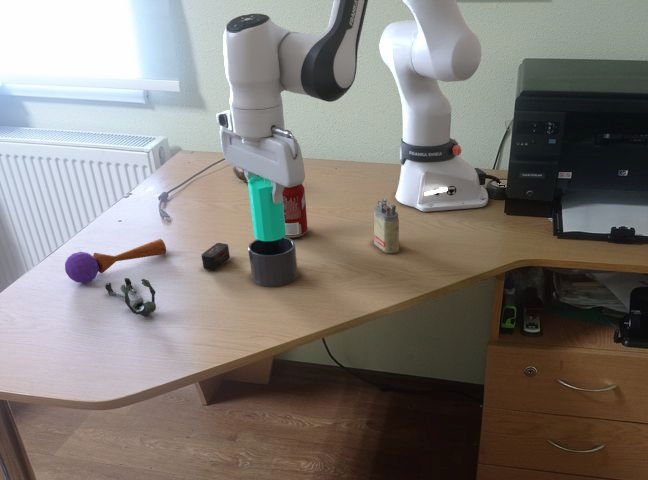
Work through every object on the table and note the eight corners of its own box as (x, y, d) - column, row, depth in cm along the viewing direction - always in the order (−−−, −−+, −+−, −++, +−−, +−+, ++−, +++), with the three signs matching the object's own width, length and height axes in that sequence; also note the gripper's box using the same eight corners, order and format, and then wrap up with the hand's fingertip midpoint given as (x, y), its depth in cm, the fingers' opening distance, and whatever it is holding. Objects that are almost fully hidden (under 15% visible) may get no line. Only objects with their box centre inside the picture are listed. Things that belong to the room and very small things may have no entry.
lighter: (371, 242, 144) (370, 198, 138) (386, 238, 145) (386, 194, 140) (387, 255, 139) (387, 209, 133) (403, 251, 140) (403, 206, 134)
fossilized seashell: (230, 164, 180) (229, 183, 173) (240, 143, 177) (240, 162, 169) (256, 175, 184) (256, 194, 176) (266, 156, 180) (267, 174, 173)
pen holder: (300, 265, 135) (297, 235, 132) (294, 286, 128) (291, 256, 124) (256, 265, 136) (252, 236, 132) (248, 286, 128) (244, 256, 125)
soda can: (302, 240, 145) (298, 187, 138) (273, 238, 146) (267, 185, 139) (311, 228, 150) (307, 176, 144) (282, 226, 152) (277, 174, 145)
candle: (247, 235, 127) (239, 173, 120) (272, 225, 130) (265, 165, 124) (268, 244, 123) (261, 181, 117) (292, 234, 127) (287, 172, 120)
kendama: (169, 240, 137) (71, 265, 124) (169, 265, 140) (75, 292, 128) (154, 227, 140) (57, 250, 127) (155, 251, 143) (61, 276, 131)
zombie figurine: (125, 255, 125) (159, 285, 115) (132, 287, 129) (166, 319, 119) (96, 263, 122) (129, 295, 113) (104, 296, 126) (137, 329, 116)
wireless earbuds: (233, 257, 139) (231, 242, 137) (214, 272, 134) (211, 257, 132) (214, 253, 140) (211, 239, 139) (194, 268, 135) (192, 253, 133)
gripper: (310, 128, 111) (315, 208, 118) (240, 106, 123) (248, 180, 131) (280, 137, 107) (287, 218, 115) (210, 113, 119) (221, 188, 127)
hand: (266, 197), depth 123 cm, fingers closed on candle, 5 cm apart
